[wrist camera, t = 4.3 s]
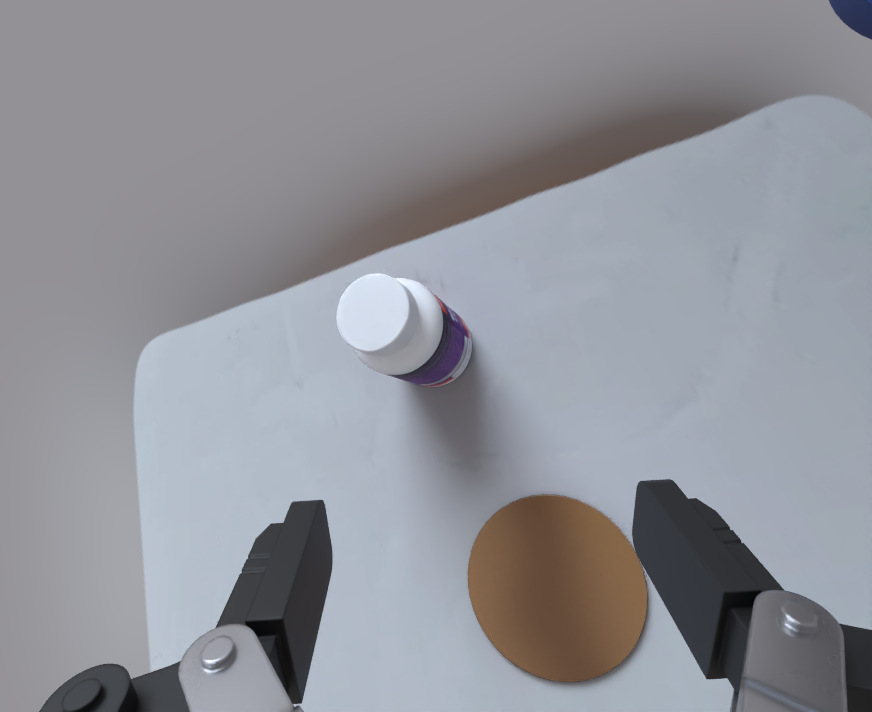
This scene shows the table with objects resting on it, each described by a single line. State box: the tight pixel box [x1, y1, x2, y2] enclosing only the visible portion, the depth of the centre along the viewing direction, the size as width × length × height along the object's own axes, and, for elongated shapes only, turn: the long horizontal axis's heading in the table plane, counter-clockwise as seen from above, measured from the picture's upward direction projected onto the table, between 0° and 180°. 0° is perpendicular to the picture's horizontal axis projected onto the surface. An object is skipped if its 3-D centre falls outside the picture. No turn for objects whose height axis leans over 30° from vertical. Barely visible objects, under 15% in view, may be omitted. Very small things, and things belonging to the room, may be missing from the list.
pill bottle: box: [336, 274, 472, 387], centre depth 28 cm, size 5×5×10 cm
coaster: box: [468, 494, 647, 682], centre depth 28 cm, size 10×10×1 cm
